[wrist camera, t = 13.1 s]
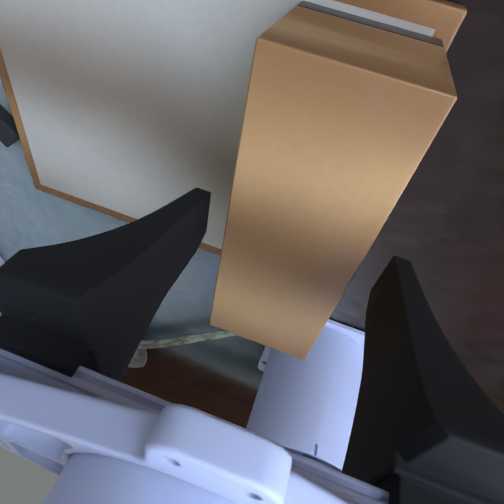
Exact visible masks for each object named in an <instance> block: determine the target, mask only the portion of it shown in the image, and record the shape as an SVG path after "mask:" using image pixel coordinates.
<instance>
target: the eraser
mask: <svg viewBox="0 0 504 504" xmlns="http://www.w3.org/2000/svg"><path fill="white" fill-rule="evenodd" d="M456 100H457V94H456V90H455V86H454V83H453V79H452V75H451V71H450V67H449V64H448V60H447V56H446V52H445V48H444V45H443V41H442V40H441V39H438V38H434V37H431V36H427V35H424V34H420V33H417V32H413V31H410V30H406V29H403V28H399V27H396V26H392V25H388V24H385V23H381V22H378V21H374V20H371V19H367V18H364V17H360V16H357V15H353V14H350V13H346V12H343V11H339V10H335V9H332V8H328V7H325V6H321V5H318V4H314V3H311V2H307V1H301V2H300V3H299V4H298V5H297V6H295V7H294V8H292V9H291V10H290V11H289V12H288V13H286V14H285V15H284V16H283V17H282V18H280V19H279V20H278V21H277V22H275V23H274V24H273V25H272V26H271V27H269V28H268V29H267V30H266V31H264V32H263V33H262V34H261V35H260V36H258V37H257V39H256V43H255V49H254V55H253V61H252V67H251V73H250V79H249V85H248V91H247V98H246V104H245V110H244V116H243V122H242V128H241V134H240V140H239V146H238V152H237V159H236V165H235V171H234V177H233V183H232V189H231V195H230V201H229V207H228V213H227V220H226V226H225V232H224V238H223V244H222V250H221V256H220V262H219V268H218V274H217V281H216V287H215V293H214V299H213V305H212V311H211V317H210V325H212V326H215V327H218V328H220V329H223V330H225V331H228V332H231V333H233V334H236V335H239V336H241V337H244V338H246V339H249V340H252V341H254V342H257V343H260V344H262V345H265V346H268V347H270V348H273V349H275V350H278V351H281V352H283V353H286V354H289V355H291V356H294V357H296V358H299V359H302V360H305V359H306V357H307V355H308V353H309V352H310V350H311V348H312V347H313V345H314V343H315V341H316V340H317V338H318V336H319V335H320V333H321V331H322V329H323V328H324V326H325V324H326V323H327V321H328V319H329V317H330V316H331V314H332V312H333V311H334V309H335V307H336V305H337V304H338V302H339V300H340V299H341V297H342V295H343V293H344V292H345V290H346V288H347V287H348V285H349V283H350V281H351V280H352V278H353V276H354V275H355V273H356V271H357V269H358V268H359V266H360V264H361V263H362V261H363V259H364V258H365V256H366V254H367V252H368V251H369V249H370V247H371V246H372V244H373V242H374V240H375V239H376V237H377V235H378V234H379V232H380V230H381V228H382V227H383V225H384V223H385V222H386V220H387V218H388V216H389V215H390V213H391V211H392V210H393V208H394V206H395V204H396V203H397V201H398V199H399V198H400V196H401V194H402V192H403V191H404V189H405V187H406V186H407V184H408V182H409V180H410V179H411V177H412V175H413V174H414V172H415V170H416V168H417V167H418V165H419V163H420V162H421V160H422V158H423V156H424V155H425V153H426V151H427V150H428V148H429V146H430V144H431V143H432V141H433V139H434V138H435V136H436V134H437V132H438V131H439V129H440V127H441V126H442V124H443V122H444V120H445V119H446V117H447V115H448V114H449V112H450V110H451V108H452V107H453V105H454V103H455V102H456Z"/></svg>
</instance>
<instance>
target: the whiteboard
mask: <svg viewBox="0 0 504 504" xmlns="http://www.w3.org/2000/svg"><path fill="white" fill-rule="evenodd" d="M301 1H307V2H311V3H314V4H318V5H321V6H325V7H328V8H332V9H335V10H339V11H343V12H346V13H350V14H353V15H357V16H360V17H364V18H367V19H371V20H374V21H378V22H381V23H385V24H388V25H392V26H396V27H399V28H403V29H406V30H410V31H413V32H417V33H420V34H424V35H427V36H431V37H434V38H438V39H441V40H442V41H443V45H444V48H445V52H446V53H447V51H448V49H449V47H450V45H451V43H452V41H453V39H454V37H455V35H456V33H457V31H458V29H459V27H460V26H461V24H462V22H463V20H464V18H465V16H466V14H467V10H466V8H465V7H464V6H463V5H460V4H456V3H453V2H449V1H446V0H0V76H1V79H2V82H3V86H4V89H5V92H6V95H7V99H8V102H9V105H10V108H11V111H12V115H13V118H14V121H15V124H16V128H17V131H18V134H19V137H20V140H21V144H22V147H23V150H24V153H25V157H26V160H27V163H28V166H29V169H30V173H31V176H32V179H33V182H34V186H35V188H36V189H38V190H41V191H44V192H47V193H49V194H52V195H55V196H58V197H60V198H63V199H66V200H69V201H72V202H74V203H77V204H80V205H83V206H85V207H88V208H91V209H94V210H96V211H99V212H102V213H105V214H108V215H110V216H113V217H116V218H119V219H121V220H124V221H127V222H130V223H131V222H133V221H136V220H138V219H140V218H142V217H144V216H146V215H148V214H150V213H152V212H154V211H156V210H158V209H160V208H161V207H163V206H165V205H167V204H169V203H170V202H172V201H174V200H176V199H177V198H179V197H181V196H182V195H184V194H186V193H187V192H189V191H191V190H192V189H194V188H196V187H197V188H200V189H203V190H206V191H209V192H211V199H210V207H209V215H208V224H207V231H206V233H205V235H204V237H203V239H202V241H201V243H200V245H199V248H202V249H204V250H207V251H210V252H213V253H215V254H218V255H221V250H222V244H223V238H224V232H225V226H226V220H227V213H228V207H229V201H230V195H231V189H232V183H233V177H234V171H235V165H236V159H237V152H238V146H239V140H240V134H241V128H242V122H243V116H244V110H245V104H246V98H247V91H248V85H249V79H250V73H251V67H252V61H253V55H254V49H255V43H256V39H257V37H258V36H260V35H261V34H262V33H263V32H264V31H266V30H267V29H268V28H269V27H271V26H272V25H273V24H274V23H275V22H277V21H278V20H279V19H280V18H282V17H283V16H284V15H285V14H286V13H288V12H289V11H290V10H291V9H292V8H294V7H295V6H297V5H298V4H299V3H300V2H301Z"/></svg>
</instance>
